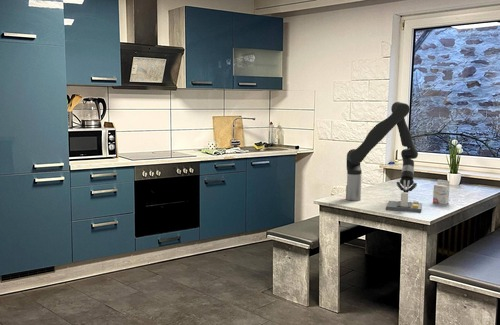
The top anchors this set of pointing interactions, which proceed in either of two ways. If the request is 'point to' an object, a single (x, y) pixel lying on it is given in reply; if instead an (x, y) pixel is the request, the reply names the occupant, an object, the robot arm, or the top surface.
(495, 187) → the top surface
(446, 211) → the top surface
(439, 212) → the top surface
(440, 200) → the ink cartridge box
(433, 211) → the top surface
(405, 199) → the switch tab
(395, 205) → the switch panel
